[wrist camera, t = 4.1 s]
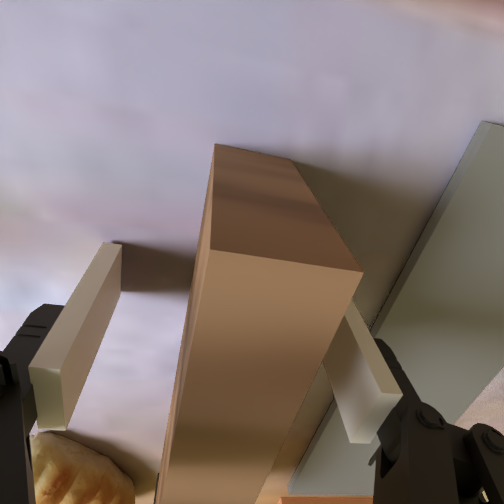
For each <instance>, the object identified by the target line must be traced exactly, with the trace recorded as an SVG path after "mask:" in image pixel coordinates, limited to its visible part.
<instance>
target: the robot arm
mask: <svg viewBox="0 0 504 504" xmlns="http://www.w3.org/2000/svg"><path fill="white" fill-rule="evenodd" d="M121 263H122V245H119V244H112V243H105V242H103V244H102V246H101V247H100V249H99V250H98V252H97V254H96V255H95V257H94V259H93V260H92V262H91V264H90V265H89V267H88V269H87V270H86V272H85V274H84V275H83V277H82V279H81V280H80V282H79V284H78V285H77V287H76V289H75V290H74V292H73V293H72V295H71V297H70V298H69V300H68V302H67V303H66V305H65V306H62V305H52V304H43V305H42V306H40V307H39V308H37V309H36V310H34V311H33V312H31V313H30V315H29V316H28V317H27V319H26V320H25V322H24V323H23V325H22V327H20V329H19V330H18V331H17V333H16V335H15V336H14V337H13V338H12V340H11V341H10V342H9V344H8V345H7V347H6V348H5V349H4V351H0V504H36V499H35V488H34V476H33V465H32V454H31V443H30V436H29V433H30V431H31V429H32V427H33V425H34V423H35V421H36V419H37V425H38V429H42V430H65V431H66V428H67V426H68V423H69V421H70V419H71V416H72V414H73V411H74V409H75V406H76V404H77V401H78V399H79V396H80V394H81V391H82V389H83V386H84V384H85V381H86V379H87V376H88V374H89V372H90V369H91V367H92V364H93V362H94V359H95V357H96V354H97V352H98V349H99V347H100V344H101V342H102V339H103V337H104V334H105V332H106V329H107V327H108V325H109V322H110V320H111V317H112V315H113V312H114V310H115V307H116V305H117V302H118V300H119V297H120V294H121ZM323 363H324V366H325V369H326V372H327V375H328V378H329V381H330V384H331V387H332V390H333V393H334V396H335V399H336V402H337V405H338V408H339V411H340V414H341V417H342V420H343V423H344V426H345V429H346V432H347V435H348V438H349V441H350V443H363V444H370V443H371V441H372V440H373V438H374V437H375V435H376V434H377V436H378V438H379V441H380V443H381V444H380V446H379V447H378V449H377V450H376V451H375V453H374V454H373V456H372V457H371V458H370V460H369V463H368V465H369V466H372V464H373V463H374V462H375V460H376V466H375V480H374V494H373V504H504V436H503V435H502V434H501V433H500V432H499V431H497V430H496V429H494V428H493V427H491V426H488V425H486V424H481V423H477V424H475V425H473V426H472V427H471V428H470V430H469V431H468V430H466V429H463V428H460V427H457V426H455V425H452V424H449V423H447V422H446V420H445V419H444V418H443V416H442V415H441V414H440V413H439V412H438V411H437V410H436V409H435V408H434V407H432V406H430V405H429V404H427V403H424V402H422V401H421V399H420V398H419V396H418V394H417V392H416V391H415V389H414V387H413V386H412V384H411V382H410V380H409V379H408V377H407V375H406V373H405V372H404V370H402V367H401V365H400V363H399V361H397V358H396V356H395V354H394V353H393V351H392V349H391V348H390V347H389V346H388V345H387V344H386V343H385V342H384V341H383V340H382V339H378V338H373V337H372V336H371V334H370V332H369V330H368V328H367V326H366V324H365V322H364V321H363V319H362V317H361V315H360V313H359V311H358V309H357V308H356V306H355V304H354V302H353V300H352V299H351V301H350V303H349V306H348V308H347V310H346V312H345V314H344V316H343V318H342V320H341V322H340V324H339V327H338V329H337V331H336V333H335V335H334V337H333V339H332V341H331V343H330V346H329V348H328V350H327V352H326V354H325V356H324V358H323ZM483 491H485V493H486V495H487V498H488V500H489V501H488V502H486V500H485V498H484V496H483V494H482V492H483Z"/></svg>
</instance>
